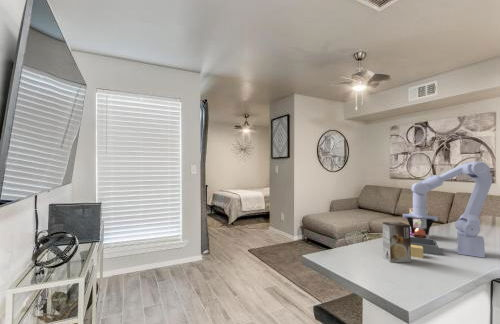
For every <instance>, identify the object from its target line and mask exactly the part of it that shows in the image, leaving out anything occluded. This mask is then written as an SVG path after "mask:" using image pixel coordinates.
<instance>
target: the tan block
mask: <svg viewBox="0 0 500 324" xmlns="http://www.w3.org/2000/svg"><path fill="white" fill-rule="evenodd" d="M412 257H413V258H418V259H424V253H423V247H422V246H418V245H411V258H412Z"/></svg>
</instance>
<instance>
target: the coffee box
mask: <svg viewBox="0 0 500 324" xmlns="http://www.w3.org/2000/svg"><path fill="white" fill-rule="evenodd" d="M381 225H382V227H381V228H382V257H383V259H385V260H387V261H388V262H390V263H412V257H411V241H410V237H411V235H410V224H409V223H408V224H407V223H405V222H402V221H401V222H400V221H399V222H396V221H395V222H393V221H392V222H391V221H386V222H383V221H382V223H381Z"/></svg>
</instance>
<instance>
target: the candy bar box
mask: <svg viewBox="0 0 500 324" xmlns="http://www.w3.org/2000/svg"><path fill="white" fill-rule="evenodd" d="M408 214H413V207H409V208H408ZM426 215H428V216H430V211H428V210H426ZM415 218H417V217H415ZM414 227H424V228H426V220H423V219H413V228H414ZM410 236H411V237H414V234H413V233H412V230H411V227H410ZM425 239H430V232H429V233H428V235H426V238H425Z"/></svg>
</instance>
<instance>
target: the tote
mask: <svg viewBox="0 0 500 324" xmlns="http://www.w3.org/2000/svg"><path fill="white" fill-rule="evenodd" d="M410 241H411V245H418V246H422V247H423V254H427V255H434V256H439V254H440V253H439V251H440V250H439V245H438V243H437V240H436V239H433V238H429V239H425V238H416V237H414V236H410Z"/></svg>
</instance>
